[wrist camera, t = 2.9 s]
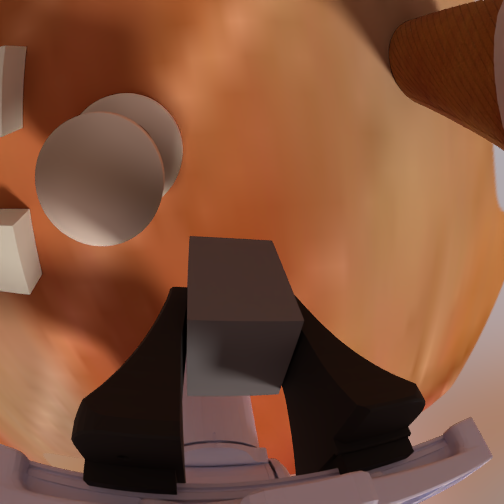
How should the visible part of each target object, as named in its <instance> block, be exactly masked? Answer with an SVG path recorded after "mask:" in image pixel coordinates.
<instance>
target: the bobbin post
mask: <svg viewBox="0 0 504 504" xmlns="http://www.w3.org/2000/svg"><path fill="white" fill-rule="evenodd" d="M182 156H183V144H182V137H181V133H180V130H179V128H178V125H177V123H176V122H175V120H174V118H173V117H172V115H171V114H170V113H169V112H168V111H167V110H166V109H165V108H164V107H163V106H162V105H161V104H159V103H158V102H157V101H155V100H153V99H151V98H149V97H146V96H144V95H140V94H135V93H120V94H115V95H110V96H107V97H104V98H102V99H100V100H98V101H96V102H94V103H93V104H91V105H90V106H89V107H87V108H86V109H85V110H84V111H83V112H82V113H81V114H80V115H79V116H76V117H74V118H72V119H69V120H68V121H66V122H64V123H63V124H61V125H60V126H59V127H58V128H56V129H55V130H54V131H53V132H52V133H51V135H50V136H49V137H48V138H47V140H46V141H45V143H44V145H43V147H42V149H41V151H40V153H39V156H38V159H37V164H36V170H35V185H36V191H37V195H38V199H39V201H40V204H41V206H42V208H43V210H44V212H45V214H46V215H47V217H48V218H49V220H50V221H51V222H52V223H53V224H54V225H55V226H56V227H57V228H58V229H59V230H60V231H61V232H62V233H64V234H65V235H67V236H68V237H70V238H72V239H74V240H76V241H78V242H81V243H84V244H88V245H93V246H111V245H116V244H120V243H123V242H125V241H128V240H130V239H131V238H133V237H135V236H136V235H138V234H139V233H140V232H142V231H143V230H144V229H145V228H146V227H147V226H148V224H149V223H150V222H151V220H152V219H153V217H154V216H155V214H156V212H157V210H158V207H159V205H160V202H161V198H162V196H163V195H164V194H165V193H167V191H168V190H169V189H170V188H171V186H172V185H173V183H174V181H175V180H176V178H177V175H178V173H179V170H180V166H181V162H182Z"/></svg>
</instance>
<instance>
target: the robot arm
mask: <svg viewBox="0 0 504 504" xmlns="http://www.w3.org/2000/svg"><path fill="white" fill-rule="evenodd" d="M187 293H188V287H172V288H171V289H170V291H169V295H168V297H167V300H166V302H165V304H164V306H163V308H162V310H161V312H160V314H159V316H158V317H157V319H156V321H155V323H154V324H153V326H152V328H151V329H150V331H149V332H148V334H147V335H146V337H145V338H144V340H143V341H142V342H141V344H140V345H139V346H138V348H137V349H136V350H135V351H134V353H133V354H132V355H131V356H130V357H129V358H128V360H127V361H126V362H125V363H124V364H123V365H122V366H121V367H120V368H119V369H118V370H117V371H116V372H115V373H114V374H113V375H112V376H111V377H110V378H109V379H108V380H107V381H105V382H104V383H103V384H102V385H101V386H100V387H98V388H97V389H96V390H94V391H93V392H92V393H90V394H89V395H88V396H87V397H85V398H84V399H83V400H82V402H81V404H80V406H79V409H78V411H77V414H76V417H75V420H74V426H73V432H72V438H71V440H72V442H73V444H74V445H75V447H76V448H77V449H78V451H79V452H80V453H81V455H82V456H83V457H84V458H85V464H84V473H80V472H75V471H70V470H65V469H61V468H56V467H53V466H49V465H45V464H41V463H37V462H34V461H30V460H29V459H28V458H27V457H26V456H25V455H24V454H23V453H22V452H20V451H18V450H16V449H14V448H11V447H8V446H5V445H2V444H0V504H418V503H420V502H422V501H424V500H426V499H428V498H430V497H432V496H434V495H436V494H438V493H440V492H442V491H443V490H446V489H447V488H449V487H451V486H453V485H455V484H457V483H458V482H460V481H461V480H463V479H464V478H466V477H467V476H469V475H470V474H472V473H473V472H474V471H476V470H477V469H479V468H480V467H481V466H483V465H484V464H485V463H486V462H488V461H489V460H491V459H492V457H493V456H492V454H491V452H490V450H489V448H488V446H487V444H486V443H485V441H484V439H483V437H482V435H481V433H480V431H479V430H478V428H477V426H476V425H475V423H474V421H473V419H472V418H471V417H469V418H467V419H465V420H463V421H460V422H458V423H456V424H454V425H453V426H451V427H450V428H449V429H448V430H447V431H446V432H445V433H444V434H443V435H441V436H439V437H436V438H434V439H432V440H429V441H426V442H423V443H421V444H418V445H416V446H412V445H411V443H410V441H409V439H408V436H410V434H411V432H410V430H409V428H408V426H409V425H410V424H411V423H412V422H413V421H414V420H415V419H416V418H417V417H418V415H419V414H420V413H421V412H422V410H423V408H424V406H425V400H424V398H423V396H422V394H421V392H420V391H419V389H418V387H417V385H416V384H415V383H413V382H410V381H408V380H405V379H403V378H400V377H398V376H396V375H393V374H391V373H389V372H387V371H385V370H383V369H381V368H380V367H378V366H376V365H374V364H373V363H371V362H369V361H368V360H366V359H365V358H363V357H362V356H360V355H359V354H357V353H356V352H354V351H353V350H352V349H350V348H349V347H348V346H346V345H345V344H344V343H342V342H341V341H340V340H339V339H338V338H336V337H335V336H334V335H333V334H332V333H331V332H330V331H329V330H327V329H326V328H325V327H324V326H323V325H322V324H321V323H320V322H319V321H318V320H317V319H316V318H315V317H314V316H313V315H312V314H311V313H310V311H309V310H308V309H307V308H306V307H305V306H304V305H303V304H302V303H301V302H300V301H299V299H298V298H297V297H296V296H295V295H294V296H295V298H296V301H297V304H298V306H299V309H300V311H301V314H302V316H303V319H304V323H303V326H302V329H301V332H300V335H299V338H298V341H297V344H296V347H295V350H294V352H293V355H292V358H291V361H290V364H289V366H288V369H287V372H286V375H285V377H284V380H283V383H282V387H283V391H284V395H285V399H286V404H287V410H288V415H289V421H290V428H291V434H292V442H293V450H294V459H295V469H296V476H291V477H290V475H289V472H288V470H287V469H286V468H285V466H283V465H282V464H281V463H280V462H279V461H278V460H277V459H274V458H271V459H268V456H267V451H266V448H259V444H258V438H257V433H256V428H255V422H254V417H253V411H252V406H251V400H250V396H187V358H186V353H187Z"/></svg>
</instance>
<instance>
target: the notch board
mask: <svg viewBox="0 0 504 504" xmlns="http://www.w3.org/2000/svg"><path fill="white" fill-rule="evenodd" d="M26 48H27V46H2V47H0V137H3V136H5V135H7V134H10V133H12V132H14V131H17V130H19V129H21V128H23V83H24V68H25V57H26ZM41 275H42V271H41V267H40V262H39V258H38V253H37V248H36V244H35V238H34V233H33V227H32V221H31V215H30V209H0V291H3V292H11V293H19V294H28V295H30V294H31V292H32V290H33V289H34V287H35V285H36V284H37V282H38V280H39V279H40V277H41Z"/></svg>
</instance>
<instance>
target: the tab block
mask: <svg viewBox="0 0 504 504" xmlns="http://www.w3.org/2000/svg"><path fill="white" fill-rule="evenodd" d="M187 287H188V293H187V353H186V358H187V396H252V395H271V394H278V393H279V391H280V388H281V385H282V383H283V380H284V377H285V375H286V372H287V369H288V366H289V364H290V361H291V358H292V355H293V352H294V350H295V347H296V344H297V341H298V338H299V335H300V332H301V329H302V326H303V323H304V319H303V316H302V314H301V311H300V309H299V306H298V304H297V301H296V298H295V296H294V293H293V291H292V289H291V286H290V284H289V281H288V279H287V276H286V274H285V271H284V269H283V266H282V264H281V261H280V259H279V256H278V254H277V252H276V249H275V247H274V244H273V242H272V241H269V240H251V239H234V238H215V237H196V236H190V241H189V260H188V285H187Z"/></svg>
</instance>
